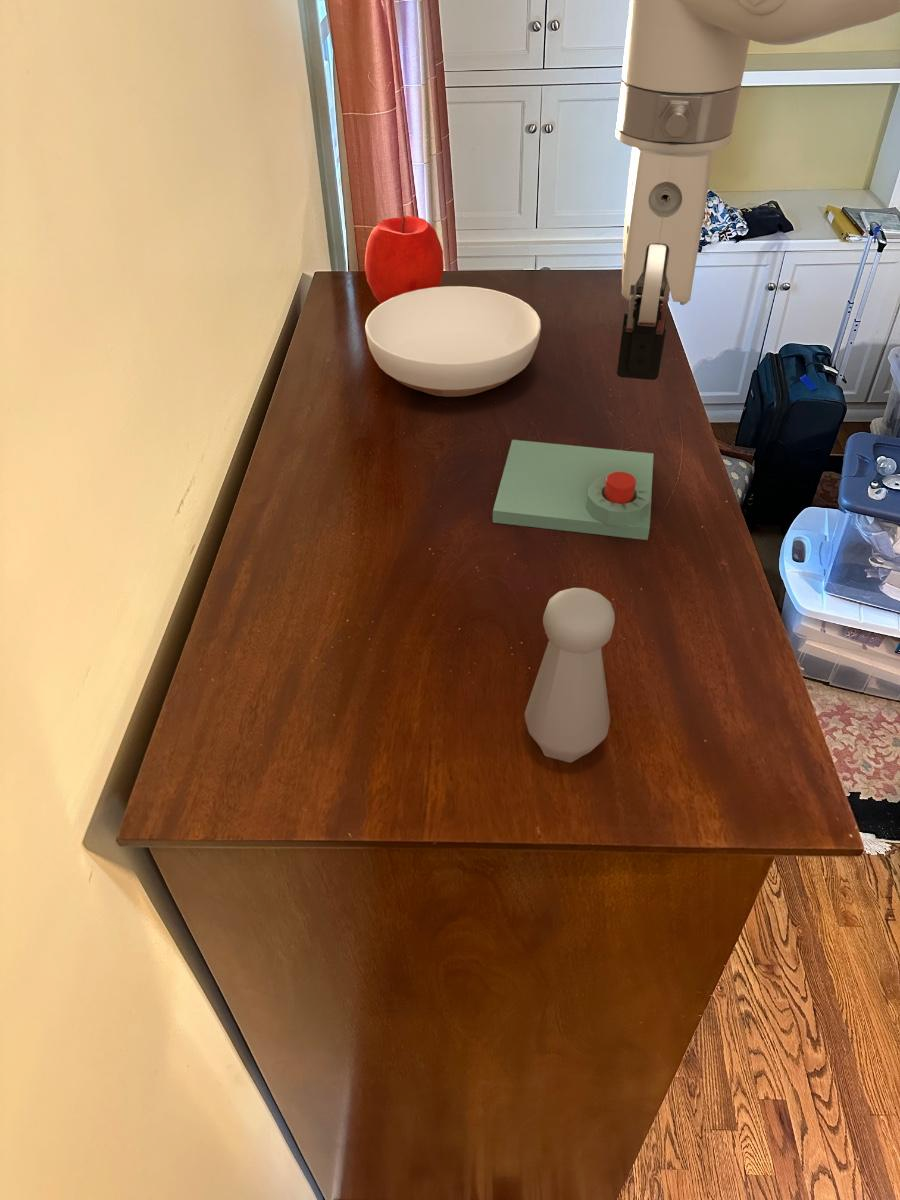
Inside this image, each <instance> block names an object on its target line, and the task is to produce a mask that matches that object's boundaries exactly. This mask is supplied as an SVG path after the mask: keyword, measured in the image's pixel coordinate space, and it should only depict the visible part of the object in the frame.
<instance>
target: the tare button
mask: <svg viewBox="0 0 900 1200" xmlns="http://www.w3.org/2000/svg"><path fill="white" fill-rule="evenodd" d="M635 485H636V479H635V478H634V477H633V476H632V475H631V474H629V473H625V472H614V473H611V474H609V475H608V476H607V478H606V485H605V492H604V496H605V498H606V499H607V500H608V501H610V502H612V503H619V504H625V503H629V502H631V501H632V500H633V497H634V492H635Z"/></svg>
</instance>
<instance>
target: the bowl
mask: <svg viewBox="0 0 900 1200" xmlns="http://www.w3.org/2000/svg"><path fill="white" fill-rule="evenodd" d="M541 323H542V322H541V318H540V316H539V314H538V313H537V311H536V310H535V309H534V308H533V307H532V306H531V305H530V304H529V303H528V302H525V301H524V300H522V299H521V298H518V297H516V296H514V295H511V294H508V293H506V292H502V291H500V290H499V291H498V290H495V289H489V288H484V287H477V286H466V285H447V286H446V285H445V286H440V287H432V288H426V289H420V290H415V291H411V292H407V293H403V294H401V295H398V296H396V297H393V298H391V299H389V300H387V301H385V302H383V303H382V304H380V303H379V304H378V305H377V306H376V307H375V308H374V309H373V310H372V311H371V312H370V313H369V315H368V316H367V318H366V321H365V323H364V324H365V325H364V329H365V335H366V339H367V344H368V349H369V351H370V353H371V355H372V357H373V360H374V361H375V362H376V364H377V366H378V367H379V369H381V370H382V371H383V372H384V373H385V374H386V375H388V376H390V377H391V378H392V379H394V380H395V381H397V382H398V383H400V384H402V385H404V386H405V387H407V388H410V389H412V390H416V391H418V392H423V393H424V394H425V393H426V394H429V395H433V396H438V397H445V398H446V397H447V398H458V397H459V398H460V397H467V396H473V395H478V394H481V393H483V392H486V391H488V390H489V391H490V390H492V389H495V388H498V387H499V386H502V385H503V384H505V383H507V382H509V381H510V380H511V379H512V378H514V377H515V376H516V375H519V373H521V372H522V371H523V370H525V368H526V367H527V366H528V365H529V364H530V362H531V360H532V359H533V357H534V354H535V351H536V349H537V346H538V344H539V341H540V336H541V330H542V324H541Z"/></svg>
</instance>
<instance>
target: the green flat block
mask: <svg viewBox="0 0 900 1200" xmlns="http://www.w3.org/2000/svg"><path fill="white" fill-rule="evenodd" d="M614 472H625V473H629V474H631V475H632V476H633V477H634V478H635V479H636V485H635V492H634V497H633V500H632V501H631V502H629V503H625V504H619V503H612V502H610V501H608V500H607V499H606V498H605V496H604V492H605V485H606V478H607V476H608V475H609V474H611V473H614ZM653 472H654V453H653V452H652V453H651V452H641V451H630V450H622V449H611V448H601V447H593V446H580V445H571V444H561V443H550V442H542V441H541V442H540V441H531V440H519V439H511V443H510V445H509V449H508V453H507V456H506V461H505V465H504V468H503V472H502V476H501V479H500V483H499V486H498V490H497V493H496V497H495V502H494V505H493V509H492V523H493V524H500V525H501V524H502V525H512V526H519V527H527V528H528V527H529V528H537V529H546V530H554V531H555V530H556V531H562V532H563V531H564V532H573V533H581V534H590V535H591V534H592V535H599V536H606V537H608V536H609V537H617V538H625V539H635V540H642V541H643V540H644V541H648V540H649V535H650V529H651V514H652V513H651V512H652V494H653V493H652V492H653V474H654V473H653Z"/></svg>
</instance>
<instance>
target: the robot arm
mask: <svg viewBox="0 0 900 1200" xmlns="http://www.w3.org/2000/svg"><path fill="white" fill-rule="evenodd" d="M899 12H900V0H629V5H628V15H627V24H626V31H625V33H626V34H625V43H624V51H623V61H622V72H621V79H620V88H619V97H618V98H619V99H618V106H617V116H616V126H615V134H614V135H615V137H616V139H617V140H618V141H619V142H621V143H622V144H624V145H627V146H630V147H631V155H630V162H629V163H630V164H629V172H628V181H627V190H626V200H625V209H624V211H625V212H624V222H623V235H622V258H621V259H622V261H621V262H622V264H621V296H622V297H623V298H624V299H625V300H626V301H627V302H628V307H627V313H624V314H623V322H622V331H621V337H620V345H619V352H618V361H617V368H616V375H617V376H618V377H619V378H627V379H637V380H648V381H650V380H651V381H655V380H657V379H658V377H659V374H660V368H661V362H662V357H663V350H664V344H665V338H666V333H667V331H666V330H667V329H666V322H667V310H668V305H669V301H670V295H671V299H672V302H675V303H679V304H680V305H681V306H685V305H686V304H687V303H689V302H690V301H691V299H692V298H691V297H692V290H693V284H694V279H695V278H694V276H695V271H696V264H697V258H698V252H699V246H700V241H701V235H702V229H703V224H704V217H705V212H706V206H707V199H708V192H709V185H710V179H711V169H712V161H713V151H716V150H719V149H721V148H724V147H726V146H727V145H729V144H730V142H731V140H732V136H733V130H734V125H735V119H736V114H737V110H738V103H739V98H740V94H741V88H742V82H743V78H744V72H745V68H746V63H747V57H748V52H749V48H750V47H749V46H750V41H753V42H756V43H759V44H763V45H768V46H769V45H770V46H788V45H796V44H800V43H804V42H807V41H811V40H814V39H817V38H822V37H825V36H828V35H831V34H834V33H837V32H840V31H844V30H847V29H850V28H855V27H858V26H862V25H867V24H869V23H874V22H877V21H880V20H883V19H886V18H888V17H890V16H893V15H895V14H897V13H899Z"/></svg>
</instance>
